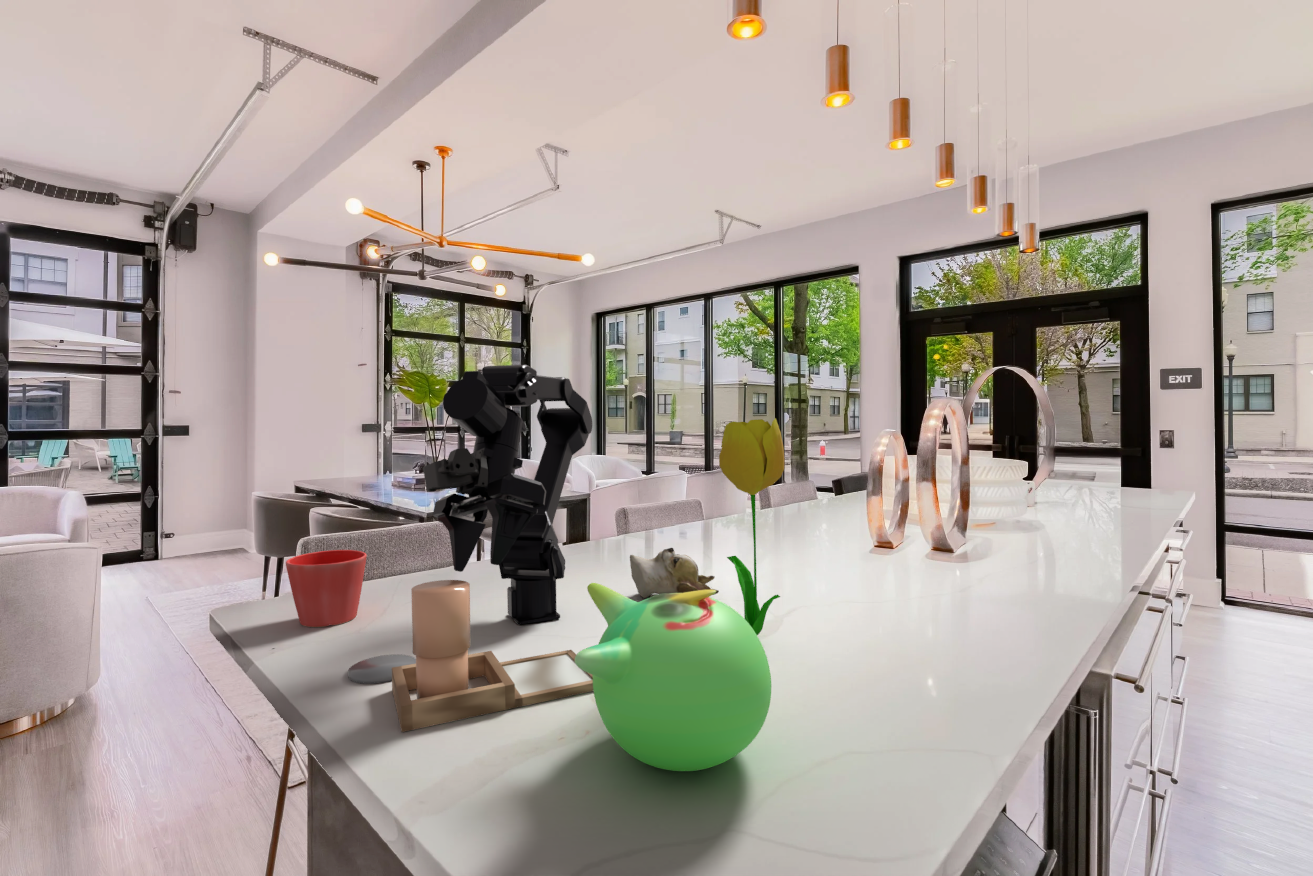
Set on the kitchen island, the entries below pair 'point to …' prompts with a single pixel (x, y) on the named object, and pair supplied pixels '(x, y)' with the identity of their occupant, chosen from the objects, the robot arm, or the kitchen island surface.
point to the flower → (752, 490)
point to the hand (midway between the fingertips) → (475, 568)
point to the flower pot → (326, 586)
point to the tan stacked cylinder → (441, 636)
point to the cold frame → (491, 688)
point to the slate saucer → (378, 668)
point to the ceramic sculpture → (667, 574)
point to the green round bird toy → (677, 678)
